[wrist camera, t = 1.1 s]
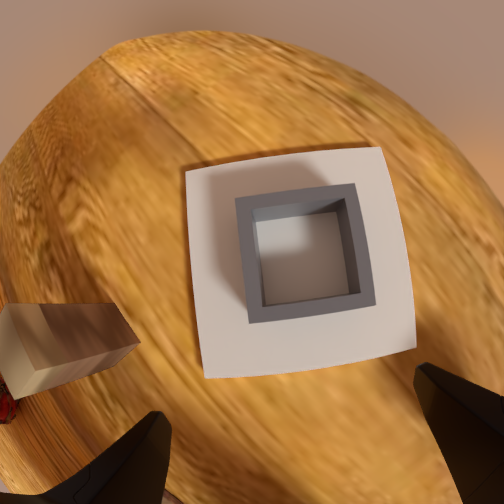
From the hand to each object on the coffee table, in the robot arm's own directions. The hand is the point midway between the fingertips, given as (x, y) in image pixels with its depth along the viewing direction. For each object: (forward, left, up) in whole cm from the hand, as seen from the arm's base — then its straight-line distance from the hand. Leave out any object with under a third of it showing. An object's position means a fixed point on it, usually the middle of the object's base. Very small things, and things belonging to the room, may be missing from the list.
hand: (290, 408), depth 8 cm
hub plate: (+6, +2, -14) cm, 15 cm away
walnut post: (-8, +15, -14) cm, 22 cm away
